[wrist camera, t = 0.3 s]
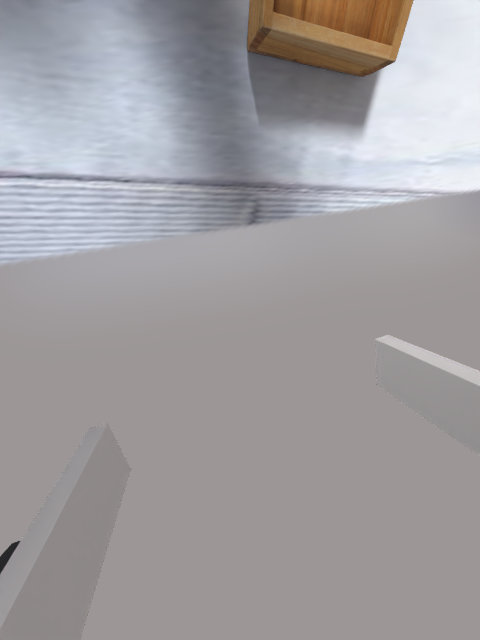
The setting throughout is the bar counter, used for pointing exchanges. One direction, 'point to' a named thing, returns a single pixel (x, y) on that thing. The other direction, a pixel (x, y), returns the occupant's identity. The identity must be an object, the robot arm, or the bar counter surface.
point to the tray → (329, 32)
